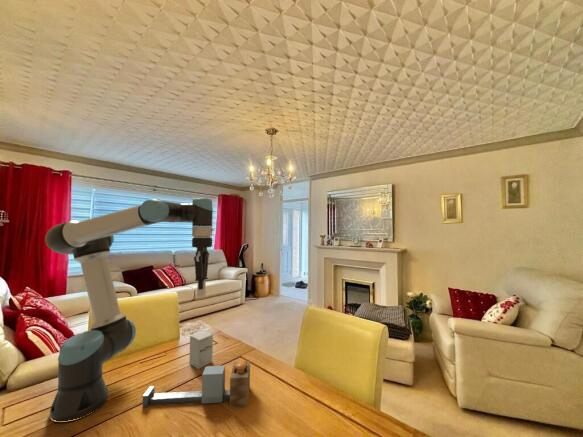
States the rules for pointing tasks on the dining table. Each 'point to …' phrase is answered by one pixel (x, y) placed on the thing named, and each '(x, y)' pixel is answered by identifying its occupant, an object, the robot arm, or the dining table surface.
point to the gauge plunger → (240, 367)
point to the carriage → (213, 384)
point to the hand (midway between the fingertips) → (201, 296)
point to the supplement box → (201, 349)
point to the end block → (239, 387)
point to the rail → (175, 397)
